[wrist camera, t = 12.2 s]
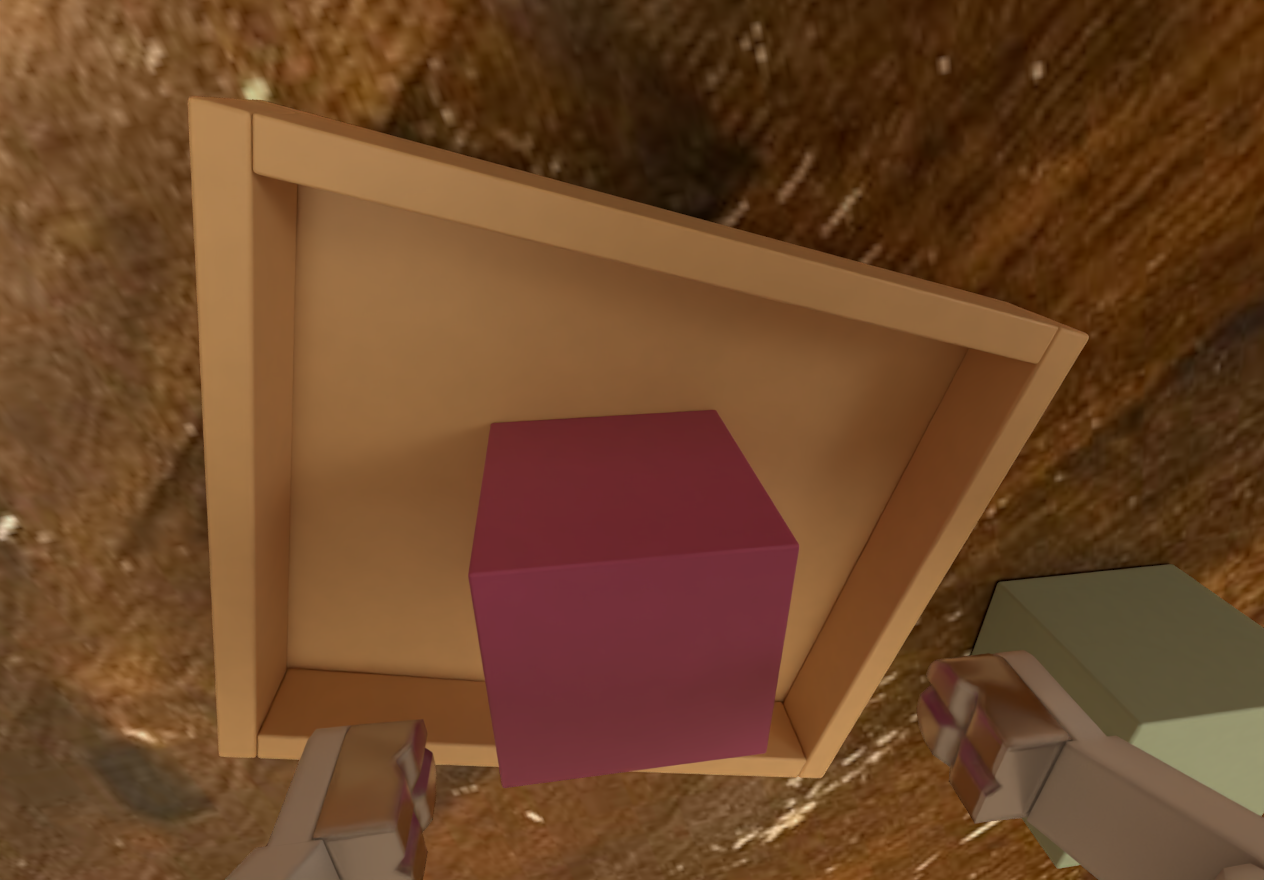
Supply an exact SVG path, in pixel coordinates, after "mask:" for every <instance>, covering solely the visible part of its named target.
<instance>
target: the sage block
mask: <svg viewBox="0 0 1264 880" xmlns="http://www.w3.org/2000/svg"><path fill="white" fill-rule="evenodd" d="M1018 650H1024V651H1026V652H1028V653H1030V654H1031V655H1033V656H1034V657H1035V658H1036V659H1037V660H1038V661H1039V662H1040V663H1041V665H1042V666H1043V667H1044V668H1045V669H1046V670H1047V671H1048V672H1049V673H1050V674H1051V676H1052V677H1053V678H1054V679H1055V680H1056V681H1057V682H1058V683H1059V684H1060V685H1061V687H1062V688H1063V689H1064V690H1065V691H1066V692H1067V693H1068V694H1069V695H1070V696H1071V697H1072V699H1073V700H1074V701H1075V702H1076V703H1077V704H1078V705H1079V706H1080V707H1081V708H1082V710H1083V711H1084V712H1085V713H1086V714H1087V715H1088V716H1089V717H1090V718H1091V719H1092V721H1093V722H1094V723H1095V724H1096V725H1097V726H1098V727H1099V728H1100V729H1101V730H1102V732H1103V733H1104V734H1105V735H1106V736H1118V737H1119V738H1121V739H1123V740H1125V741H1127V742H1128V743H1130V744H1132V745H1134V746H1136V747H1137V748H1139V749H1141V750H1143V751H1145V752H1146V753H1148V754H1150V755H1152V756H1154V757H1155V758H1157V759H1159V760H1161V761H1162V762H1164V763H1166V764H1168V765H1170V766H1171V767H1173V768H1175V769H1177V770H1179V771H1180V772H1182V773H1184V774H1186V775H1188V776H1189V777H1191V778H1193V779H1195V780H1197V781H1198V782H1200V783H1202V784H1204V785H1206V786H1207V787H1209V788H1211V789H1213V790H1215V791H1216V792H1218V793H1220V794H1222V795H1223V796H1225V797H1227V798H1229V799H1231V800H1232V801H1234V802H1236V803H1238V804H1240V805H1241V806H1243V807H1245V808H1247V809H1249V810H1250V811H1252V812H1254V813H1256V814H1258V815H1259V816H1262V814H1263V813H1264V628H1263V627H1261V626H1260V625H1259V624H1257V623H1256V622H1254V621H1253V620H1251V619H1250V618H1249V617H1247V616H1246V615H1244V614H1243V613H1241V612H1240V611H1239V610H1237V609H1236V608H1234V607H1233V606H1231V605H1230V604H1228V603H1227V602H1226V601H1224V600H1223V599H1221V598H1220V597H1218V596H1217V595H1216V594H1214V593H1213V592H1211V591H1210V590H1208V589H1207V588H1206V587H1204V586H1203V585H1201V584H1200V583H1198V582H1197V581H1196V580H1194V579H1193V578H1191V577H1190V576H1188V575H1187V574H1186V573H1184V572H1183V571H1181V570H1180V569H1178V568H1177V567H1176V566H1174V565H1172V564H1166V565H1156V566H1147V567H1137V568H1128V569H1118V570H1108V571H1099V572H1089V573H1079V574H1070V575H1060V576H1050V577H1041V578H1031V579H1022V580H1012V581H1002V582H998V583H997V586H996V589H995V591H994V594H993V597H992V600H991V602H990V605H989V608H988V611H987V613H986V616H985V619H984V622H983V625H982V627H981V630H980V633H979V636H978V638H977V641H976V644H975V647H974V649H973V652H972V655H978V654H986V653H990V654H994V653H1001V652H1009V651H1018ZM1027 818H1028V817H1024V818H1022V819H1023V820H1024V822H1025V823H1026V825H1027V826H1028V828H1029V829H1030V831H1031V832H1032V833H1033V835H1034V836H1035V838H1036V839H1037V841H1038V842H1039V844H1040V845H1041V846H1042V848H1043V849H1044V851H1045V852H1046V854H1047V855H1048V856H1049V858H1050V859H1051V861H1052V862H1053V864H1054V865H1055V866H1056V867H1057V868H1064V867H1070V866H1076V865H1080V864H1079V863H1078V862H1077V861H1075V860H1074V859H1073V858H1072V857H1070V856H1069V855H1068V854H1067V853H1066V852H1064V851H1063V850H1062V849H1061V848H1059V847H1058V846H1057V845H1056V844H1055V843H1053V842H1052V841H1051V840H1050V839H1049V838H1047V837H1046V836H1045V835H1044V834H1042V833H1041V832H1040V831H1039V830H1038V829H1036V828H1035V827H1034V826H1033V825H1031V824H1030V823H1029V822H1028V821H1027Z"/></svg>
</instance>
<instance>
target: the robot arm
mask: <svg viewBox="0 0 1264 880" xmlns="http://www.w3.org/2000/svg"><path fill="white" fill-rule="evenodd" d="M926 677H927V678H928V680H929V681H930V683H931V685H930V686H929V687H928V688H927V689H926V690H925V691H924V692H922V693H921V694H920V697H919V701H918V705H917V709H916V710H917V717H918V724H919V728H920V730H921V733H922V736H923V738H924V740H925V742H926V744H927V746H928V747H929V749H930V751H931V752H932V754H933V755H934V756H935V757H937V758H938V759H940V760H941V761H943V762H944V763H945V764H947V765H948V766H950V773H949V782H950V784H951V785H952V787H953V789H954V790H955V792H956V794H957V795H958V797H959V798H960V800H961V802H962V803H963V805H964V807H965V808H966V810H967V811H968V813H969V815H970V816H971V818H972V820H973V821H974V823H980V822H989V821H998V820H1007V819H1015V818H1024V817H1028V818H1027V821H1028V822H1029V823H1030V824H1031V825H1033V826H1034V827H1035V828H1036V829H1038V830H1039V831H1040V832H1041V833H1042V834H1044V835H1045V836H1046V837H1047V838H1049V839H1050V840H1051V841H1052V842H1053V843H1055V844H1056V845H1057V846H1058V847H1059V848H1061V849H1062V850H1063V851H1064V852H1066V853H1067V854H1068V855H1069V856H1070V857H1072V858H1073V859H1074V860H1075V861H1077V862H1078V863H1079V864H1080V865H1081V866H1083V867H1084V868H1085V869H1086V870H1087V871H1089V872H1090V873H1091V874H1092V875H1094V876H1095V877H1096V878H1097V879H1098V880H1264V818H1263V817H1261V816H1259V815H1258V814H1256V813H1254V812H1252V811H1250V810H1249V809H1247V808H1245V807H1243V806H1241V805H1240V804H1238V803H1236V802H1234V801H1232V800H1231V799H1229V798H1227V797H1225V796H1223V795H1222V794H1220V793H1218V792H1216V791H1215V790H1213V789H1211V788H1209V787H1207V786H1206V785H1204V784H1202V783H1200V782H1198V781H1197V780H1195V779H1193V778H1191V777H1189V776H1188V775H1186V774H1184V773H1182V772H1180V771H1179V770H1177V769H1175V768H1173V767H1171V766H1170V765H1168V764H1166V763H1164V762H1162V761H1161V760H1159V759H1157V758H1155V757H1154V756H1152V755H1150V754H1148V753H1146V752H1145V751H1143V750H1141V749H1139V748H1137V747H1136V746H1134V745H1132V744H1130V743H1128V742H1127V741H1125V740H1123V739H1121V738H1119V737H1118V736H1106V735H1105V734H1104V733H1103V732H1102V730H1101V729H1100V728H1099V727H1098V726H1097V725H1096V724H1095V723H1094V722H1093V721H1092V719H1091V718H1090V717H1089V716H1088V715H1087V714H1086V713H1085V712H1084V711H1083V710H1082V708H1081V707H1080V706H1079V705H1078V704H1077V703H1076V702H1075V701H1074V700H1073V699H1072V697H1071V696H1070V695H1069V694H1068V693H1067V692H1066V691H1065V690H1064V689H1063V688H1062V687H1061V685H1060V684H1059V683H1058V682H1057V681H1056V680H1055V679H1054V678H1053V677H1052V676H1051V674H1050V673H1049V672H1048V671H1047V670H1046V669H1045V668H1044V667H1043V666H1042V665H1041V663H1040V662H1039V661H1038V660H1037V659H1036V658H1035V657H1034V656H1033V655H1031V654H1030V653H1028V652H1026V651H1024V650H1018V651H1009V652H1001V653H994V654H990V653H986V654H978V655H970V656H962V657H955V658H947V659H939V660H935V661H934V662H933V663H932V664H930V666H929V668H928V671H927V674H926ZM427 735H428V732H427V729H426V726H425V723H424V719H418V720H406V721H395V722H383V723H371V724H359V725H348V726H339V727H329V728H319V729H316V730H315V731H314V732H313V734H312V735H311V736H310V738H309V739H308V740H307V743H306V745H305V748H304V751H303V753H302V756H301V758H300V761H299V764H298V766H297V769H296V772H295V774H294V777H293V779H292V782H291V785H290V787H289V790H288V792H287V795H286V798H285V800H284V803H283V805H282V808H281V811H280V813H279V816H278V818H277V821H276V824H275V826H274V829H273V831H272V834H271V837H270V839H269V842H268V845H267V846H265V847H258V848H255V849H254V850H253V851H252V852H251V853H250V854H249V855H248V856H247V857H246V858H245V859H244V860H243V861H242V862H241V863H240V864H239V865H238V866H237V867H236V868H235V869H234V871H233V872H232V873H231V874H230V875H229V876H228V877H227V878H226V879H225V880H423V877H424V871H425V864H426V858H427V852H428V851H427V848H426V844H425V841H424V837H423V834H422V833H423V831H424V830H425V829H426V828H427V826H428V825H429V824H430V822H431V821H432V820H433V814H434V807H435V800H436V779H437V777H436V766H435V760H434V756H433V752H431V751H430V750H428V749H427V748H425V746H426V740H427Z"/></svg>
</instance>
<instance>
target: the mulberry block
mask: <svg viewBox="0 0 1264 880" xmlns="http://www.w3.org/2000/svg"><path fill="white" fill-rule="evenodd" d="M798 553H799V543H798V542H797V540H796V539H795V537H794V535H793V534H792V532H791V531H790V529H789V527H788V526H787V524H786V522H785V521H784V519H783V518H782V516H781V514H780V513H779V511H778V509H777V508H776V506H775V505H774V503H773V501H772V500H771V498H770V497H769V495H768V493H767V492H766V490H765V488H764V487H763V485H762V484H761V482H760V480H759V479H758V477H757V476H756V474H755V472H754V471H753V469H752V467H751V466H750V464H749V463H748V461H747V459H746V458H745V456H744V454H743V453H742V451H741V450H740V448H739V446H738V445H737V443H736V442H735V440H734V438H733V437H732V435H731V433H730V432H729V430H728V429H727V427H726V425H725V424H724V422H723V420H722V419H721V417H720V416H719V414H718V412H717V411H716V410H702V411H685V412H668V413H652V414H635V415H618V416H602V417H585V418H568V419H551V420H535V421H518V422H501V423H492V424H491V425H490V431H489V438H488V444H487V451H486V458H485V465H484V471H483V478H482V485H481V492H480V498H479V505H478V512H477V518H476V525H475V532H474V539H473V545H472V552H471V559H470V566H469V572H468V579H469V585H470V591H471V597H472V603H473V610H474V616H475V622H476V628H477V634H478V641H479V647H480V653H481V659H482V665H483V672H484V678H485V684H486V690H487V696H488V702H489V709H490V715H491V721H492V727H493V733H494V740H495V746H496V752H497V758H498V764H499V771H500V777H501V783H502V786H503V787H504V788H508V787H515V786H523V785H531V784H538V783H546V782H553V781H561V780H568V779H576V778H583V777H591V776H598V775H606V774H614V773H621V772H629V771H636V770H644V769H651V768H659V767H666V766H674V765H681V764H689V763H697V762H704V761H712V760H719V759H727V758H734V757H742V756H749V755H757V754H764V753H766V751H767V745H768V738H769V732H770V726H771V720H772V714H773V708H774V701H775V695H776V689H777V683H778V677H779V670H780V664H781V658H782V652H783V646H784V640H785V633H786V627H787V621H788V615H789V609H790V602H791V596H792V590H793V584H794V578H795V572H796V565H797V559H798Z"/></svg>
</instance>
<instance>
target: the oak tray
mask: <svg viewBox="0 0 1264 880" xmlns="http://www.w3.org/2000/svg"><path fill="white" fill-rule="evenodd" d="M188 121H189V142H190V163H191V184H192V205H193V226H194V247H195V267H196V288H197V309H198V330H199V351H200V372H201V393H202V414H203V434H204V455H205V476H206V497H207V518H208V539H209V560H210V581H211V601H212V622H213V643H214V664H215V685H216V706H217V727H218V748H219V756H221V757H242V758H254V757H256V755H257V754H258V757H259V758H270V759H298V760H300V758H301V756H302V753H303V751H304V748H305V745H306V743H307V740H308V739H309V738H310V736H311V735H312V734H313V732H314V731H315V730H316V729H319V728H329V727H339V726H348V725H359V724H371V723H383V722H395V721H406V720H418V719H424V723H425V726H426V729H427V732H428V735H427V740H426V746H425V748H427V749H428V750H430V751H431V752H433V756H434V760H435V764H436V765H464V766H492V767H499V764H498V758H497V752H496V746H495V740H494V733H493V727H492V721H491V715H490V709H489V702H488V696H487V690H486V684H485V678H484V672H483V665H482V659H481V653H480V647H479V641H478V634H477V628H476V622H475V616H474V610H473V603H472V597H471V591H470V585H469V579H468V572H469V566H470V559H471V552H472V545H473V539H474V532H475V525H476V518H477V512H478V505H479V498H480V492H481V485H482V478H483V471H484V465H485V458H486V451H487V444H488V438H489V431H490V425H491V424H492V423H501V422H518V421H535V420H551V419H568V418H585V417H602V416H618V415H635V414H652V413H668V412H685V411H702V410H716V411H717V412H718V414H719V416H720V417H721V419H722V420H723V422H724V424H725V425H726V427H727V429H728V430H729V432H730V433H731V435H732V437H733V438H734V440H735V442H736V443H737V445H738V446H739V448H740V450H741V451H742V453H743V454H744V456H745V458H746V459H747V461H748V463H749V464H750V466H751V467H752V469H753V471H754V472H755V474H756V476H757V477H758V479H759V480H760V482H761V484H762V485H763V487H764V488H765V490H766V492H767V493H768V495H769V497H770V498H771V500H772V501H773V503H774V505H775V506H776V508H777V509H778V511H779V513H780V514H781V516H782V518H783V519H784V521H785V522H786V524H787V526H788V527H789V529H790V531H791V532H792V534H793V535H794V537H795V539H796V540H797V542H798V543H799V553H798V559H797V565H796V572H795V578H794V584H793V590H792V596H791V602H790V609H789V615H788V621H787V627H786V633H785V640H784V646H783V652H782V658H781V664H780V670H779V677H778V683H777V689H776V695H775V701H774V708H773V714H772V720H771V726H770V732H769V738H768V745H767V751H766V753H764V754H757V755H749V756H742V757H734V758H727V759H719V760H712V761H704V762H697V763H689V764H681V765H674V766H666V767H659V768H651V769H644V770H636V771H631V772H658V773H686V774H714V775H741V776H769V777H797V776H799V777H801V778H821V777H823V775H824V774H825V772H826V770H827V769H828V767H829V765H830V764H831V762H832V760H833V759H834V757H835V756H836V754H837V752H838V751H839V749H840V747H841V746H842V744H843V742H844V741H845V739H846V737H847V736H848V734H849V732H850V731H851V729H852V728H853V726H854V724H855V723H856V721H857V719H858V718H859V716H860V714H861V713H862V711H863V709H864V708H865V706H866V704H867V703H868V701H869V700H870V698H871V696H872V695H873V693H874V691H875V690H876V688H877V686H878V685H879V683H880V681H881V680H882V678H883V677H884V675H885V673H886V672H887V670H888V668H889V667H890V665H891V663H892V662H893V660H894V658H895V657H896V655H897V653H898V652H899V650H900V649H901V647H902V645H903V644H904V642H905V640H906V639H907V637H908V635H909V634H910V632H911V630H912V629H913V627H914V625H915V624H916V622H917V621H918V619H919V617H920V616H921V614H922V612H923V611H924V609H925V607H926V606H927V604H928V602H929V601H930V599H931V597H932V596H933V594H934V593H935V591H936V589H937V588H938V586H939V584H940V583H941V581H942V579H943V578H944V576H945V574H946V573H947V571H948V570H949V568H950V566H951V565H952V563H953V561H954V560H955V558H956V556H957V555H958V553H959V551H960V550H961V548H962V546H963V545H964V543H965V542H966V540H967V538H968V537H969V535H970V533H971V532H972V530H973V528H974V527H975V525H976V523H977V522H978V520H979V518H980V517H981V515H982V514H983V512H984V510H985V509H986V507H987V505H988V504H989V502H990V500H991V499H992V497H993V495H994V494H995V492H996V490H997V489H998V487H999V486H1000V484H1001V482H1002V481H1003V479H1004V477H1005V476H1006V474H1007V472H1008V471H1009V469H1010V467H1011V466H1012V464H1013V463H1014V461H1015V459H1016V458H1017V456H1018V454H1019V453H1020V451H1021V449H1022V448H1023V446H1024V444H1025V443H1026V441H1027V439H1028V438H1029V436H1030V435H1031V433H1032V431H1033V430H1034V428H1035V426H1036V425H1037V423H1038V421H1039V420H1040V418H1041V416H1042V415H1043V413H1044V411H1045V410H1046V408H1047V407H1048V405H1049V403H1050V402H1051V400H1052V398H1053V397H1054V395H1055V393H1056V392H1057V390H1058V388H1059V387H1060V385H1061V383H1062V382H1063V380H1064V379H1065V377H1066V375H1067V374H1068V372H1069V370H1070V369H1071V367H1072V365H1073V364H1074V362H1075V360H1076V359H1077V357H1078V355H1079V354H1080V352H1081V351H1082V349H1083V347H1084V346H1085V344H1086V342H1087V341H1088V338H1089V336H1088V335H1087V334H1086V333H1084V332H1082V331H1079V330H1077V329H1074V328H1072V327H1069V326H1066V325H1064V324H1061V323H1059V322H1056V321H1054V320H1051V319H1049V318H1046V317H1043V316H1041V315H1038V314H1036V313H1033V312H1031V311H1028V310H1025V309H1023V308H1020V307H1018V306H1016V305H1013V304H1010V303H1008V302H1005V301H1001V300H998V299H994V298H990V297H987V296H983V295H979V294H976V293H972V292H968V291H964V290H961V289H957V288H953V287H950V286H946V285H942V284H939V283H935V282H931V281H928V280H924V279H920V278H916V277H913V276H909V275H905V274H902V273H898V272H894V271H891V270H887V269H883V268H880V267H876V266H872V265H868V264H865V263H861V262H857V261H854V260H850V259H846V258H843V257H839V256H835V255H832V254H828V253H824V252H820V251H817V250H813V249H809V248H806V247H802V246H798V245H795V244H791V243H787V242H784V241H780V240H776V239H772V238H769V237H765V236H761V235H758V234H754V233H750V232H747V231H743V230H739V229H736V228H732V227H728V226H724V225H721V224H717V223H713V222H710V221H706V220H702V219H699V218H695V217H691V216H688V215H684V214H680V213H676V212H673V211H669V210H665V209H662V208H658V207H654V206H651V205H647V204H643V203H640V202H636V201H632V200H628V199H625V198H621V197H617V196H614V195H610V194H606V193H603V192H599V191H595V190H592V189H588V188H584V187H580V186H577V185H573V184H569V183H566V182H562V181H558V180H555V179H551V178H547V177H544V176H540V175H536V174H533V173H529V172H525V171H521V170H518V169H514V168H510V167H507V166H503V165H499V164H496V163H492V162H488V161H485V160H481V159H477V158H473V157H470V156H466V155H462V154H459V153H455V152H451V151H448V150H444V149H440V148H437V147H433V146H429V145H425V144H422V143H418V142H414V141H411V140H407V139H403V138H400V137H396V136H392V135H389V134H385V133H381V132H377V131H374V130H370V129H366V128H363V127H359V126H355V125H352V124H348V123H344V122H341V121H337V120H333V119H329V118H326V117H322V116H318V115H315V114H311V113H307V112H304V111H300V110H296V109H293V108H289V107H285V106H281V105H278V104H274V103H270V102H267V101H263V100H247V99H232V98H217V97H201V96H192V97H189V99H188Z"/></svg>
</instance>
